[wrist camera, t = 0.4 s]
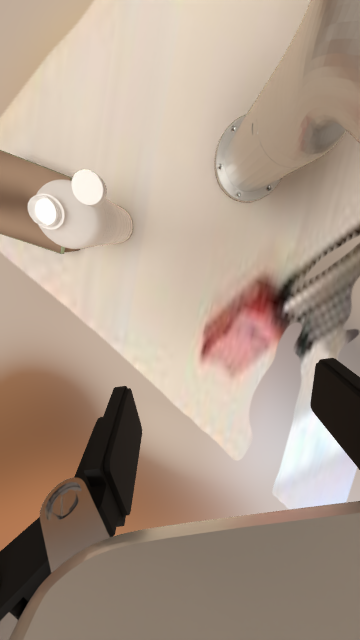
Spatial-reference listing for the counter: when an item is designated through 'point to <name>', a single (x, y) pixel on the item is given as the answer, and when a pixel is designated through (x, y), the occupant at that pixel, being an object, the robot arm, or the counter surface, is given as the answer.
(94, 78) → the counter surface
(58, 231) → the water bottle
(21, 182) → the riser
